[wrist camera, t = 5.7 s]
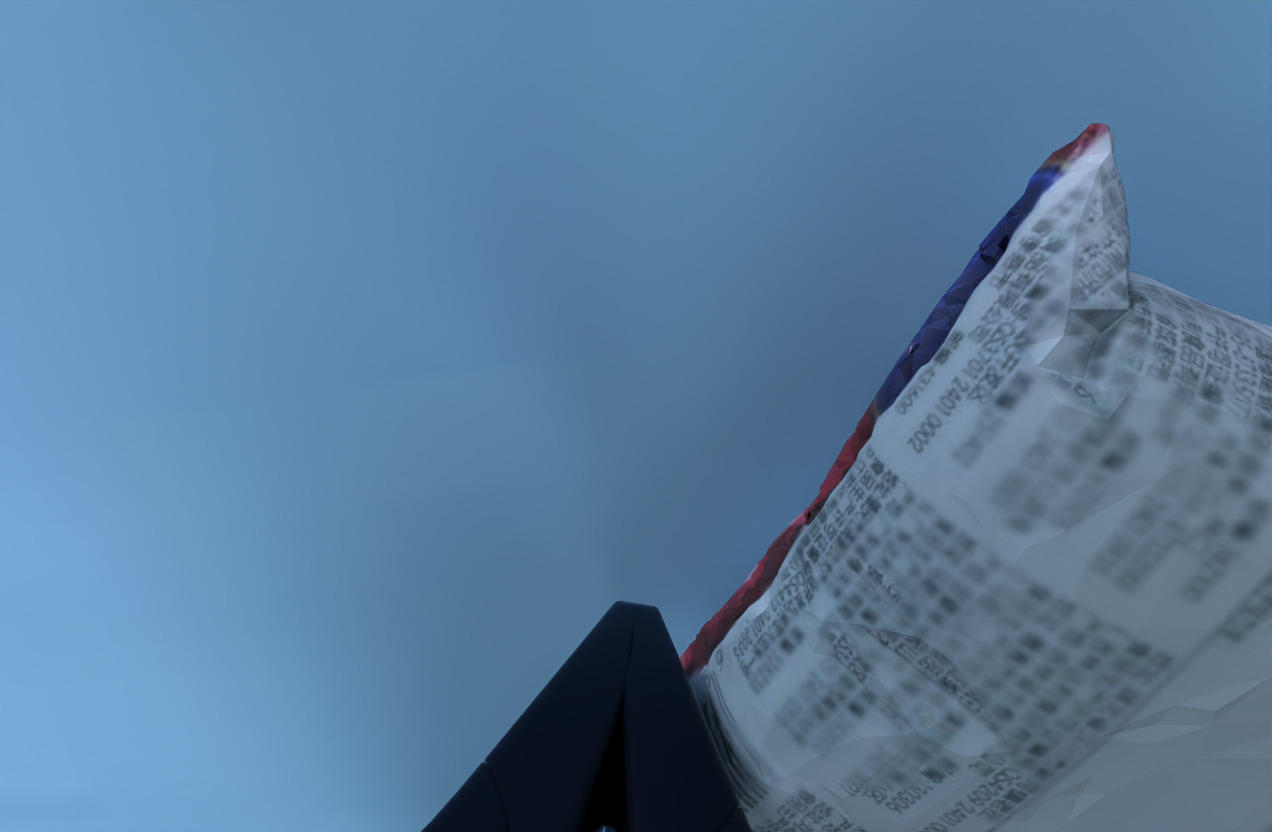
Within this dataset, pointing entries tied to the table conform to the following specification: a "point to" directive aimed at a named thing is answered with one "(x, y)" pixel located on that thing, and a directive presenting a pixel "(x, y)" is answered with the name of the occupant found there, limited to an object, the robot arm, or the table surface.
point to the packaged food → (1024, 562)
